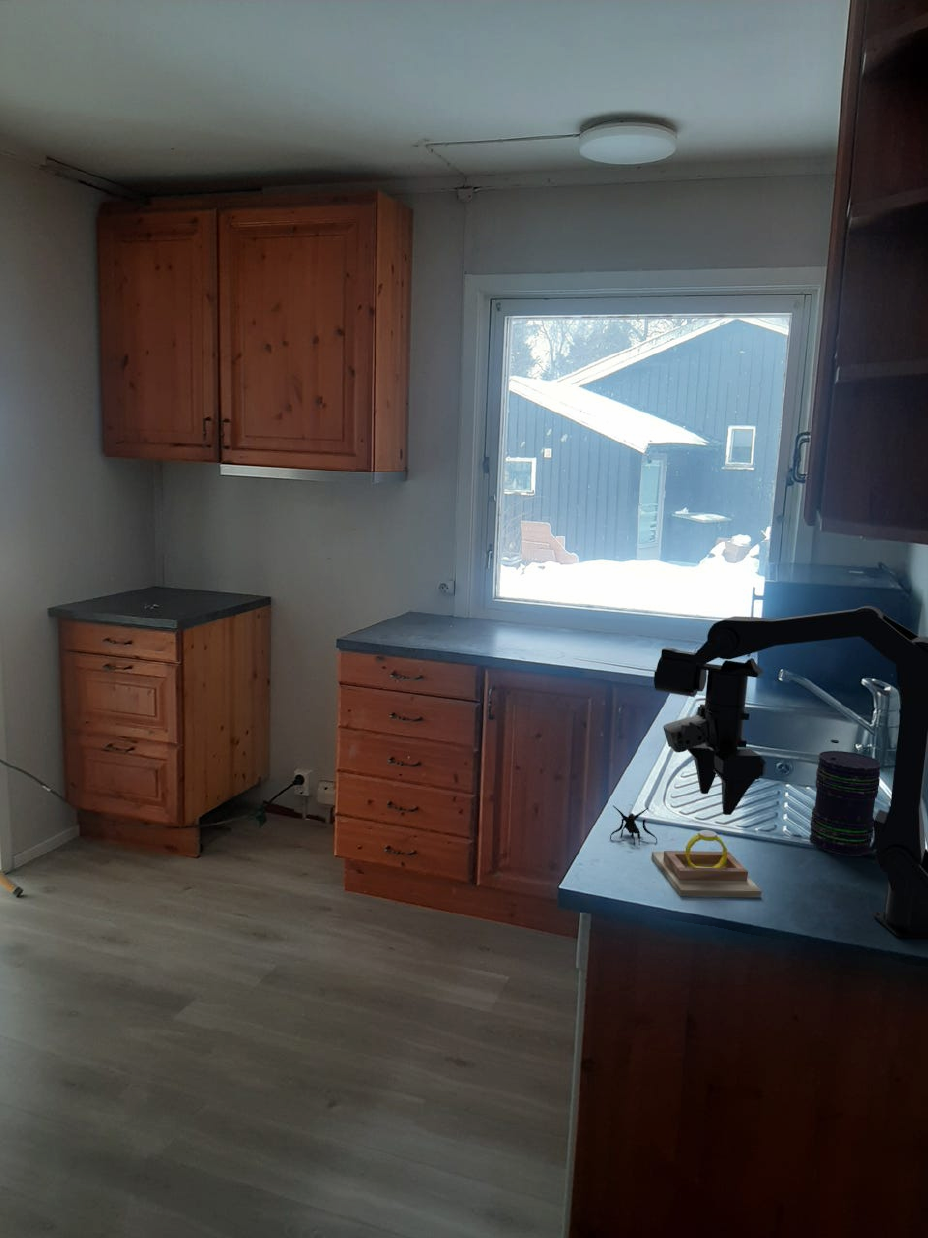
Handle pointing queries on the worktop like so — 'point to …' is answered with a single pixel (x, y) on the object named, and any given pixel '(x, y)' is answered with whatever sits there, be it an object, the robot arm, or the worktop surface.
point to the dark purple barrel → (844, 802)
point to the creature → (631, 826)
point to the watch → (706, 836)
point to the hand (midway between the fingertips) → (715, 803)
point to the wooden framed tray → (705, 874)
